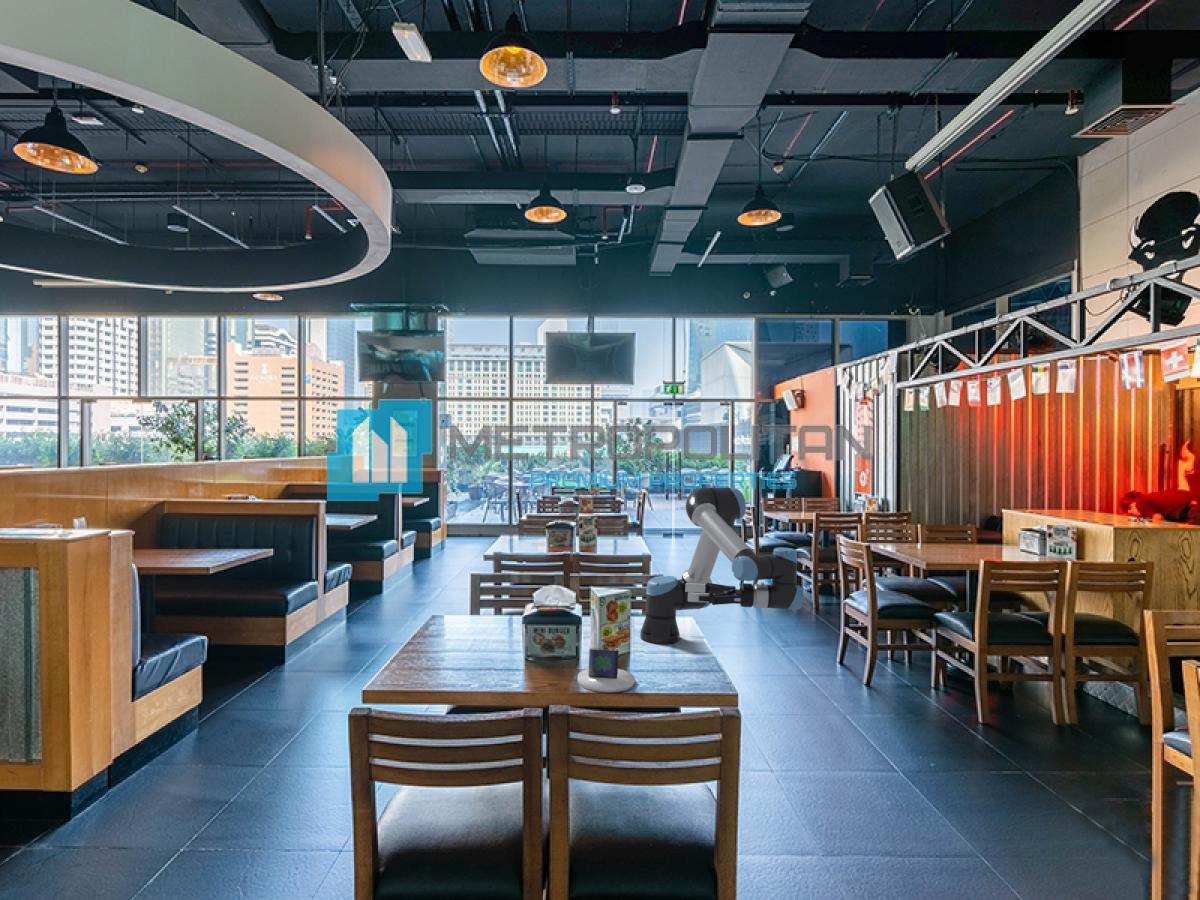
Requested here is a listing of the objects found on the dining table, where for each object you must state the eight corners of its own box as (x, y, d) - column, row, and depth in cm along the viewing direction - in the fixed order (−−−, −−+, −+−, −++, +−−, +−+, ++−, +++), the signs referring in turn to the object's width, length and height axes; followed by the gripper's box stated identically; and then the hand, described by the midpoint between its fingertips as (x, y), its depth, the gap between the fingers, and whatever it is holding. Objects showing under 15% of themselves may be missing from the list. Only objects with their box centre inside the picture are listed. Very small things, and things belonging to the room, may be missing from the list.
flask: (588, 677, 217) (589, 643, 217) (588, 674, 220) (590, 640, 220) (617, 679, 217) (618, 645, 217) (617, 675, 220) (619, 642, 220)
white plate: (580, 670, 228) (580, 665, 228) (634, 673, 227) (635, 669, 227) (574, 690, 210) (574, 685, 210) (633, 694, 209) (634, 689, 209)
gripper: (747, 576, 235) (685, 572, 237) (759, 592, 210) (689, 589, 212) (746, 597, 235) (684, 594, 237) (758, 617, 210) (688, 613, 212)
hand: (686, 592), depth 224 cm, fingers open, 13 cm apart
